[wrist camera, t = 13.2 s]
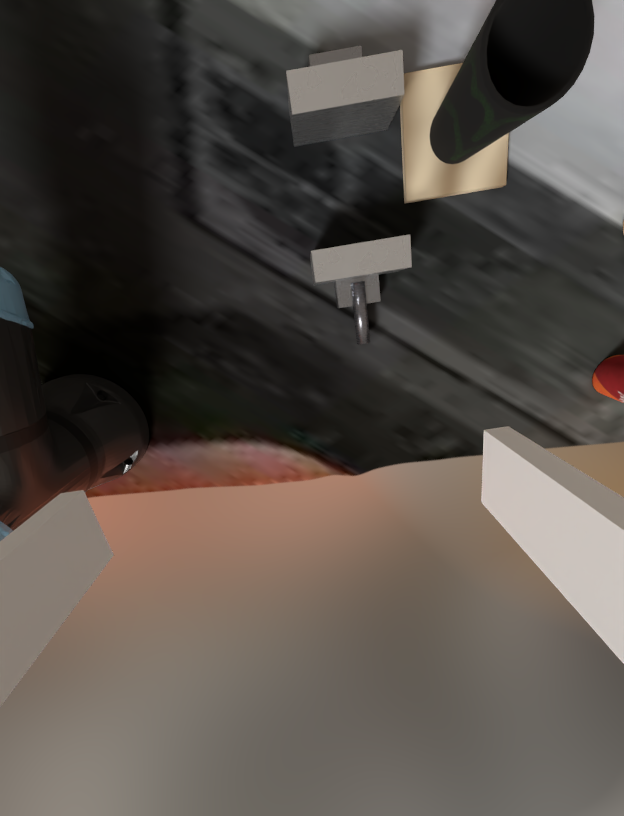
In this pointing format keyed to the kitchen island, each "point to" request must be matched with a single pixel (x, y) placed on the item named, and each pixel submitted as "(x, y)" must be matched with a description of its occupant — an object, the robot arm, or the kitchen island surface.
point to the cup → (512, 73)
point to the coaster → (419, 161)
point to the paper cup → (610, 377)
